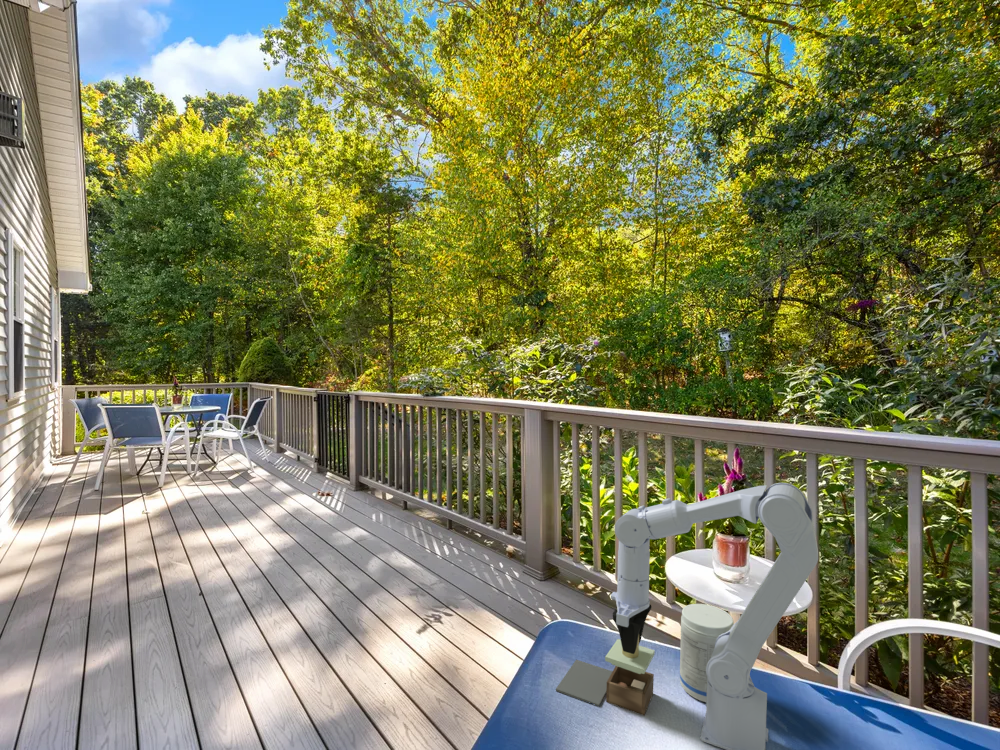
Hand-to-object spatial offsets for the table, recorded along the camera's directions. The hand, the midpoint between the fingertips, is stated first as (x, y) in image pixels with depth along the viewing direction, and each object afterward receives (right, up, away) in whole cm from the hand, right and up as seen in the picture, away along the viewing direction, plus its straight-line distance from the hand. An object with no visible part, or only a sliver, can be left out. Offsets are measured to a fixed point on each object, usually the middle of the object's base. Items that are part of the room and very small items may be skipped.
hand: (631, 646), depth 93 cm
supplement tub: (+15, -10, +3) cm, 18 cm away
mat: (-8, -9, +4) cm, 13 cm away
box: (0, -10, 0) cm, 10 cm away
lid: (0, -3, 0) cm, 3 cm away
